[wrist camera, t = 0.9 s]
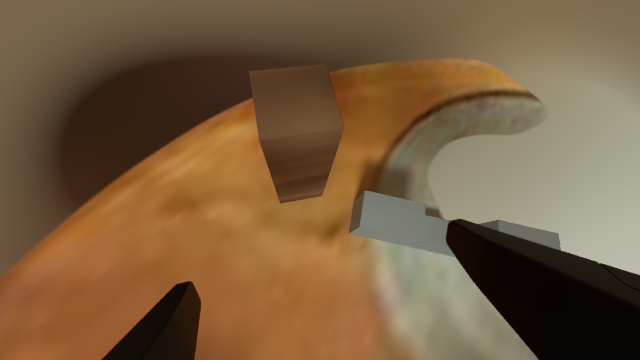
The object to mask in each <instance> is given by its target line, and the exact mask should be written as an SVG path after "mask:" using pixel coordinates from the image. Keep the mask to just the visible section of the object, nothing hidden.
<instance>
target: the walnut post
mask: <svg viewBox="0 0 640 360" xmlns="http://www.w3.org/2000/svg"><path fill="white" fill-rule="evenodd" d="M249 74H250V81H251V87H252V94H253V101H254V108H255V114H256V121H257V128H258V135H259V141H260V144H261V147H262V150H263V153H264V156H265V159H266V162H267V165H268V168H269V171H270V174H271V177H272V180H273V183H274V186H275V189H276V192H277V195H278V198H279V201H280V203H286V202H291V201H296V200H302V199H307V198H312V197H318V196H322V194H323V191H324V188H325V185H326V181H327V178H328V175H329V172H330V169H331V166H332V163H333V160H334V157H335V154H336V151H337V148H338V145H339V142H340V139H341V136H342V133H343V130H344V126H343V123H342V119H341V116H340V112H339V109H338V105H337V101H336V98H335V94H334V91H333V87H332V84H331V80H330V77H329V73H328V70H327V66H326V64H317V65H307V66H297V67H288V68H278V69H268V70H259V71H250V72H249Z"/></svg>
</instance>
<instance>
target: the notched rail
mask: <svg viewBox="0 0 640 360" xmlns="http://www.w3.org/2000/svg"><path fill="white" fill-rule="evenodd" d="M425 206H426V204H424V203H420V202H415V201H411V200H407V199H402V198H398V197H393V196H389V195H384V194H380V193H375V192H371V191H366V190H365V191H364V192H363V193H362V194H361V195H360V196H359V197H358V199H357V200H356V201H355V202H354V206H353V212H352V218H351V225H350V231H349V233H350V234H355V235H359V236H364V237H368V238H373V239H377V240H382V241H386V242H391V243H395V244H400V245H404V246H408V247H413V248H417V249H422V250H426V251H431V252H435V253H440V254H444V255H449V256H453V257H455V255H454V254H453V252H452V251H451V250H450V248H449V247H448V245H447V243H446V233H447V226H448V223H449V222H450V221H449V220H445V219H441V218H436V217H432V216H427V215H425ZM479 225H482V226H485V227H488V228H491V229H494V230H498V231H501V232H504V233H507V234H510V235H513V236H517V237H520V238H523V239H526V240H529V241H532V242H535V243H539V244H542V245H545V246H548V247H551V248H554V249H558V250H561V249H560V242H559V236H558V233H553V232H549V231H544V230H540V229H536V228H531V227H527V226H522V225H518V224H513V223H509V222H505V221H500V220H496V221H491V222H487V223H482V224H479Z"/></svg>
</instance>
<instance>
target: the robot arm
mask: <svg viewBox="0 0 640 360" xmlns="http://www.w3.org/2000/svg"><path fill="white" fill-rule="evenodd" d="M446 243H447V245H448V247H449V248H450V250H451V251H452V252H453V254H454V255H455V257H456V258H457V259H458V261H459V262H460V264H461V265H462V267H463V268H464V269H465V271H466V272H467V274H468V275H469V277H470V278H471V279H472V281H473V282H474V283H475V284H476V286H477V287H478V288H479V289H480V290H481V292H482V293H483V294H484V295H485V296H486V298H487V299H488V300H489V301H490V302H491V303H492V305H493V306H494V307H495V308H496V309H497V311H498V312H499V313H500V314H501V315H502V317H503V318H504V319H505V320H506V321H507V322H508V324H509V325H510V326H511V327H512V328H513V330H514V331H515V332H516V333H517V334H518V335H519V337H520V338H521V339H522V340H523V341H524V343H525V344H526V345H527V346H528V347H529V349H530V350H531V351H532V352H533V353H534V354H535V356H536V357H537V358H538V359H539V360H640V275H637V274H634V273H631V272H627V271H624V270H621V269H618V268H615V267H612V266H608V265H605V264H602V263H600V264H599V263H598V262H595V261H592V260H589V259H586V258H583V257H579V256H576V255H573V254H570V253H567V252H564V251H561V250H558V249H554V248H551V247H548V246H545V245H542V244H539V243H535V242H532V241H529V240H526V239H523V238H520V237H517V236H513V235H510V234H507V233H504V232H501V231H498V230H494V229H491V228H488V227H485V226H482V225H479V224H475V223H472V222H469V221H466V220H462V219H457V220H452V221H450V222H449V223H448V226H447V233H446ZM200 310H201V300H200V297H199V295H198V293H197V291H196V288H195V286H194V284H193V283H192V282H191V281H187V282H183V283H179V284H176V285H175V286H174V287H173V288H172V289H171V290H170V291H169V292H168V293H167V294H166V295H165V296H164V297H163V298H162V299H161V300H160V301H159V302H158V303H157V304H156V305H155V306H154V307H153V308H152V309H151V310H150V311H149V312H148V313H147V314H146V315H145V316H144V317H143V318H142V319H141V320H140V321H139V322H138V323H137V324H136V325H135V326H134V327H133V328H132V329H131V330H130V331H129V332H128V333H127V334H126V335H125V336H124V337H123V338H122V339H121V340H120V341H119V342H118V343H117V344H116V345H115V346H114V348H113V349H112V350H111V351H110V352H109V353H108V354H107V355H106V356H105V357H104V358H103V359H102V360H194V358H195V351H196V343H197V335H198V326H199V318H200Z"/></svg>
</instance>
